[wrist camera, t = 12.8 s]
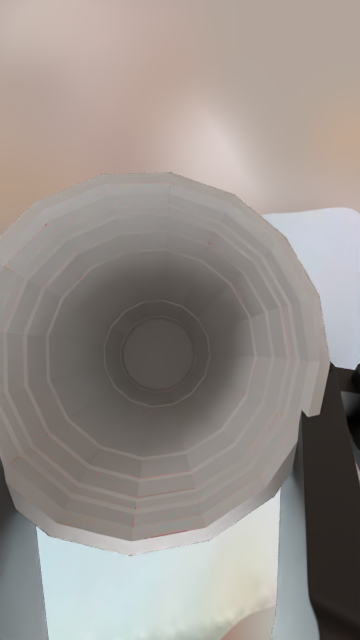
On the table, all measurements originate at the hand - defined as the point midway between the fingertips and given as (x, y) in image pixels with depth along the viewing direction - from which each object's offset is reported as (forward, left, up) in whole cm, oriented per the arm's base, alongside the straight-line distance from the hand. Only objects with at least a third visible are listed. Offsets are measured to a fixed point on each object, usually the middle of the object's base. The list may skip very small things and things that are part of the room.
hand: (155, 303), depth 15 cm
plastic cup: (0, -3, -4) cm, 5 cm away
